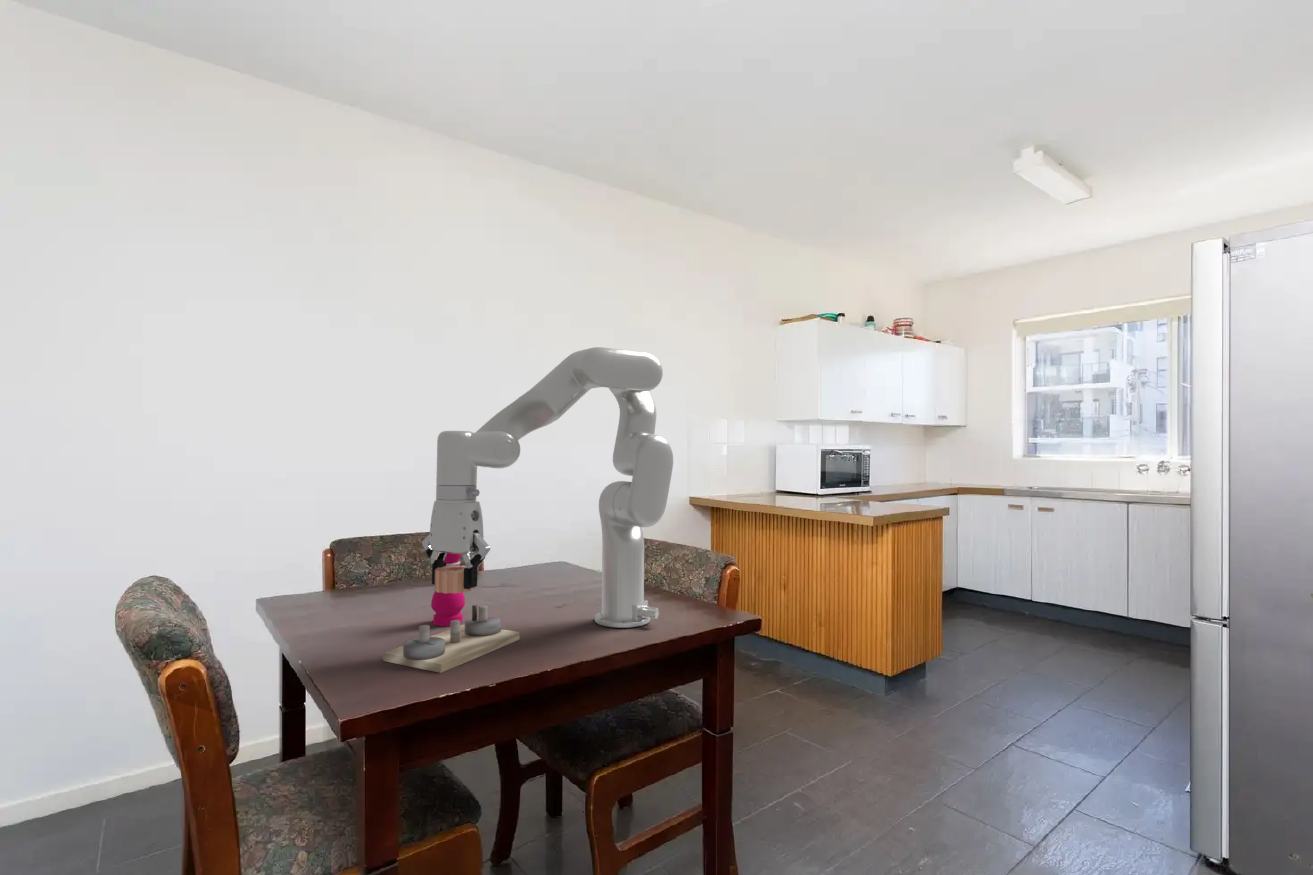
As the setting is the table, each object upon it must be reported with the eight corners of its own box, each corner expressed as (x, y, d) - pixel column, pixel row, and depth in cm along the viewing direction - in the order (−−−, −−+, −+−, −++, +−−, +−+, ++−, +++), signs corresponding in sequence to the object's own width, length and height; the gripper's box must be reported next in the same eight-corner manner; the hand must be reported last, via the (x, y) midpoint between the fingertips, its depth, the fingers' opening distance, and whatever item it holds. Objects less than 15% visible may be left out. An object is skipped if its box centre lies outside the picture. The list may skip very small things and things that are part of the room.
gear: (481, 587, 129) (482, 567, 129) (455, 595, 122) (456, 573, 122) (453, 584, 132) (453, 564, 132) (426, 590, 125) (426, 569, 125)
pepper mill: (454, 628, 142) (455, 535, 142) (424, 626, 143) (425, 534, 144) (470, 619, 149) (471, 531, 149) (441, 617, 150) (442, 530, 151)
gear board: (521, 638, 134) (521, 606, 135) (438, 674, 114) (439, 636, 114) (468, 629, 141) (468, 599, 141) (380, 661, 120) (381, 626, 120)
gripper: (504, 495, 127) (502, 586, 127) (436, 491, 135) (434, 577, 134) (478, 497, 120) (476, 594, 120) (408, 493, 128) (406, 584, 127)
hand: (454, 584), depth 127 cm, fingers closed on gear, 7 cm apart
